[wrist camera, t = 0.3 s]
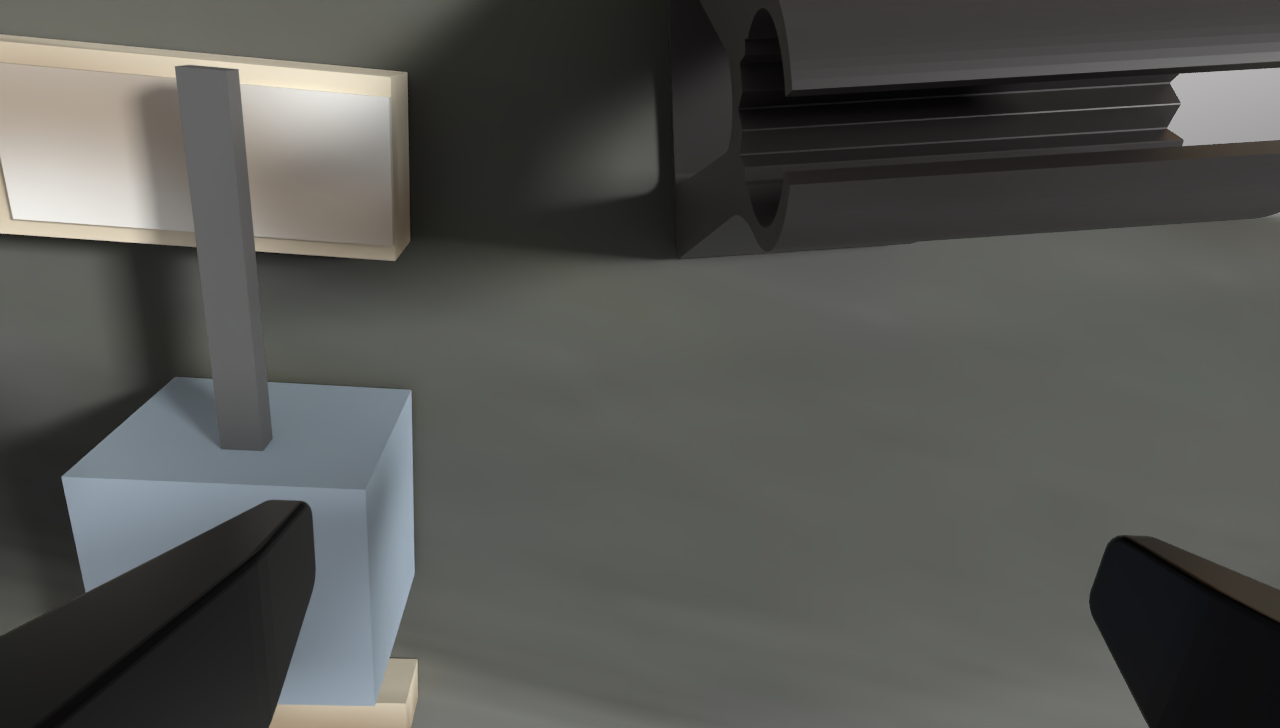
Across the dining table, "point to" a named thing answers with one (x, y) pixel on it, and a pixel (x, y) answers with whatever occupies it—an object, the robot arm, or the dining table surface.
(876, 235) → the phone stand
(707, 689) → the dining table surface
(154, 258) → the dining table surface
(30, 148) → the beige grey patterned tray
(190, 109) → the pale blue mallet
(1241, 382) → the dining table surface
